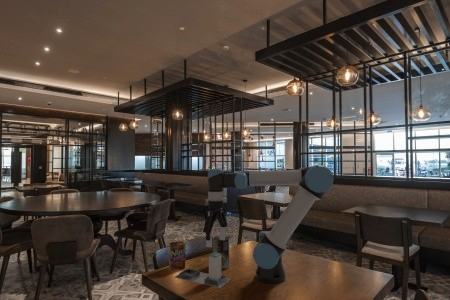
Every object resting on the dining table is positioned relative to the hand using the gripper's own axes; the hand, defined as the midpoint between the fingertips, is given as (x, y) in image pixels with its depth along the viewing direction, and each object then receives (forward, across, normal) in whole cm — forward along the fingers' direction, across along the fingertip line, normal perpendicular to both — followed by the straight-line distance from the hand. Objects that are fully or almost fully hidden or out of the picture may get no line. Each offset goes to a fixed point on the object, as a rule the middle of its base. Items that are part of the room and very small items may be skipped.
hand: (216, 243), depth 139 cm
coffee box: (+19, -19, -7) cm, 28 cm away
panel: (+18, 0, -8) cm, 20 cm away
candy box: (+18, -5, -27) cm, 33 cm away
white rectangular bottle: (+18, 0, -1) cm, 18 cm away
